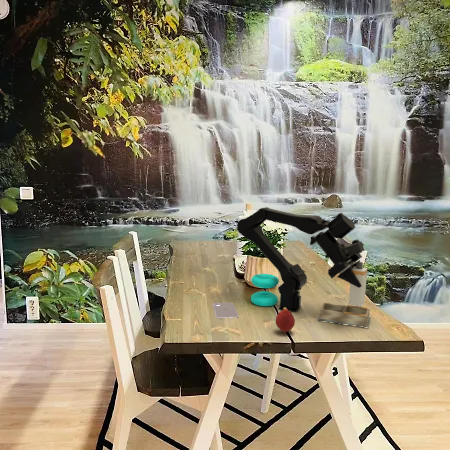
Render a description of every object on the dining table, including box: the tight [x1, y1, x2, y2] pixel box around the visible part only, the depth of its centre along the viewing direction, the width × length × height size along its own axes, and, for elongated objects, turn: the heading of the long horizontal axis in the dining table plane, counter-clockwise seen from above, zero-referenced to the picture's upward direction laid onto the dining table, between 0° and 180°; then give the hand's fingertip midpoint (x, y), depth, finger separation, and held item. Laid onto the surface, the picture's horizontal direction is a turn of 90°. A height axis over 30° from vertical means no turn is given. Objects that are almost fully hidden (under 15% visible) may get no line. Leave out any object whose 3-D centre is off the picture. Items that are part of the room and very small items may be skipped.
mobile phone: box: [212, 302, 239, 319], centre depth 158 cm, size 8×1×15 cm
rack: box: [317, 302, 371, 328], centre depth 151 cm, size 16×9×4 cm, turn 68°
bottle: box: [348, 261, 368, 307], centre depth 148 cm, size 4×4×14 cm
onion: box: [275, 308, 296, 334], centre depth 140 cm, size 6×6×8 cm
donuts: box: [250, 273, 280, 307], centre depth 167 cm, size 10×10×10 cm
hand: (362, 285), depth 147 cm, fingers closed on bottle, 4 cm apart
